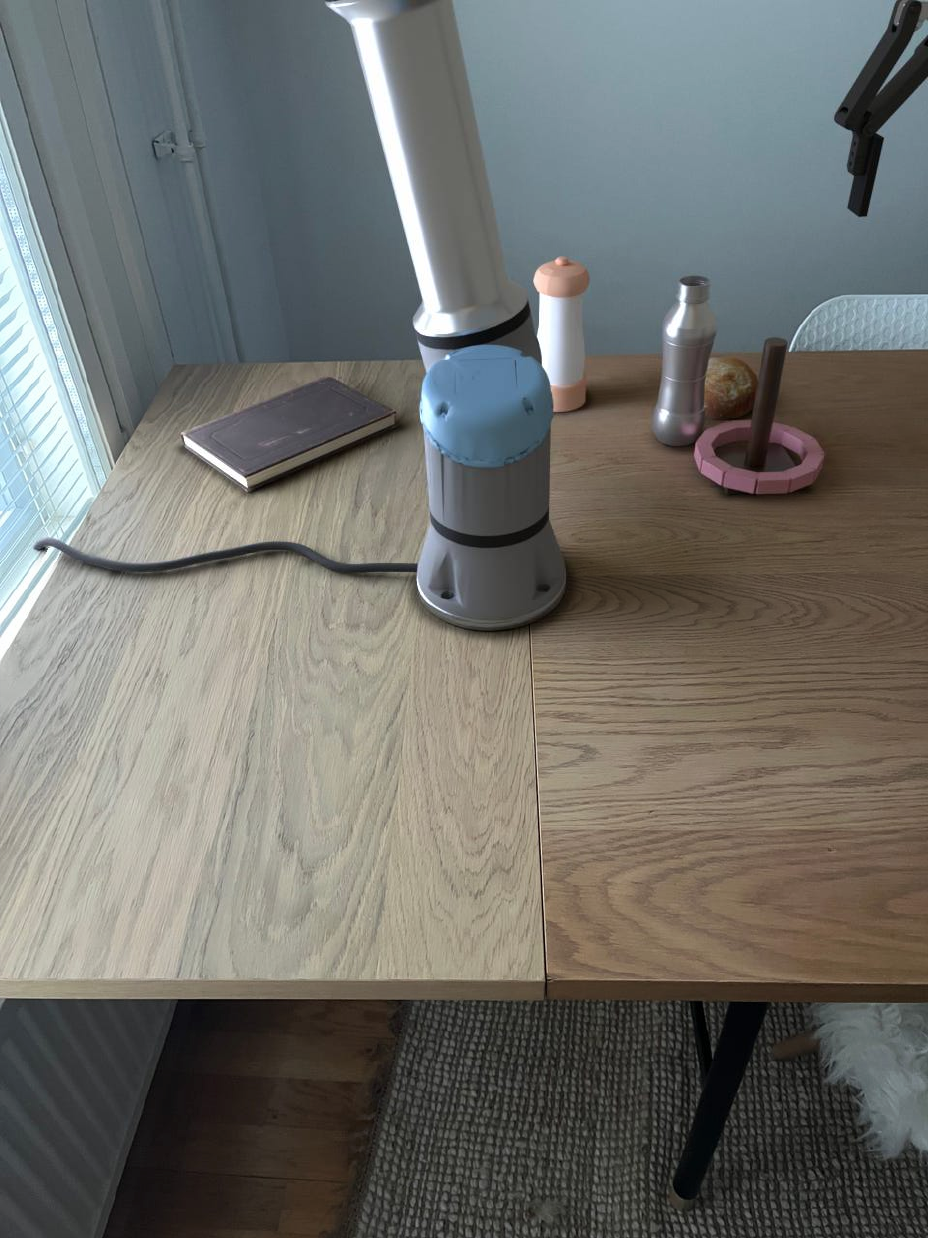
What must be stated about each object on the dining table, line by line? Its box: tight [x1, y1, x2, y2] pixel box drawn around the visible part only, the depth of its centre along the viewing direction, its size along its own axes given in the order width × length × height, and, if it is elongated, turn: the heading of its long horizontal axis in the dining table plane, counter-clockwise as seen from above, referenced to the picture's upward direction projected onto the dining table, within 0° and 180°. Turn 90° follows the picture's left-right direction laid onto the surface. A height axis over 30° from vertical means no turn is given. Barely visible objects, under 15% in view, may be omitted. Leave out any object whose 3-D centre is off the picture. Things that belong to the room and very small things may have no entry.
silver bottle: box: [651, 274, 718, 447], centre depth 113 cm, size 6×7×20 cm
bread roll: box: [704, 356, 758, 420], centre depth 125 cm, size 10×10×8 cm
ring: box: [693, 419, 825, 495], centre depth 112 cm, size 14×14×2 cm
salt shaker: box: [533, 255, 591, 413], centre depth 123 cm, size 7×7×19 cm
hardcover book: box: [180, 375, 399, 493], centre depth 123 cm, size 16×23×2 cm
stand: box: [714, 336, 805, 496], centre depth 108 cm, size 9×9×16 cm
